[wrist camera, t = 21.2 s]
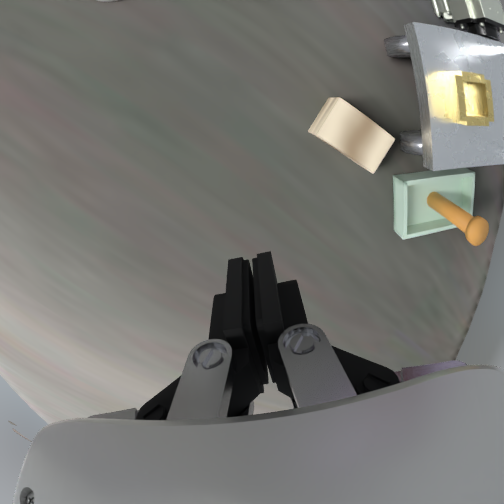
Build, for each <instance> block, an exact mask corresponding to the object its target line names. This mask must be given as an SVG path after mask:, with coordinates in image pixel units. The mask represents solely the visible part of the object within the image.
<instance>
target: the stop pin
mask: <svg viewBox="0 0 504 504" xmlns="http://www.w3.org/2000/svg"><path fill="white" fill-rule="evenodd" d="M427 204H428V206H429V207H431V208H432V209H434V210H435V211H436V212H438V213H439V214H441V215H442V216H443V217H445V218H446V219H447V220H449V221H450V222H451V223H452V224H454V225H455V226H456V227H458V228H459V229H460V230H461V231H463V232H464V233H465V236H466V239H467V240H468V241H469V242H470V243H471V244H472V245H474V246H478V245H480V244H481V243H482V242H483V241H484V240H485V239H486V237H487V235H488V231H489V224H488V222H487V221H486V220H485V219H483V218H482V217H481V216H475V217H474V216H472V215H471V214H469V213H468V212H466V211H465V210H463V209H462V208H460V207H459V206H457V205H456V204H454V203H453V202H451V201H450V200H448V199H447V198H445V197H443V196H442V195H440V194H439V193H437V192H431V193H430V194H429V195H428V197H427Z"/></svg>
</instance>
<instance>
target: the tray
mask: <svg viewBox="0 0 504 504" xmlns="http://www.w3.org/2000/svg"><path fill="white" fill-rule="evenodd" d="M474 189H475V172H474V171H472V170H469V169H467V168H457V169H448V170H439V171H431V170H430V171H422V172H414V173H406V174H399V175H393V194H394V231H395V232H396V233H397V234H398V235H399V236H400V237H401V238H402V239H403V240H404V239H408V238H413V237H417V236H421V235H426V234H430V233H435V232H439V231H443V230H448V229H452V228H456V226H455V225H454V224H452V223H451V222H450V221H449V220H447V219H446V218H445V217H443V216H442V215H441V214H439V213H438V212H436V211H435V210H434V209H432V208H431V207H429V206H428V204H427V197H428V195H429V194H430V193H431V192H437V193H439V194H440V195H442V196H443V197H445V198H447V199H448V200H450V201H451V202H453V203H454V204H456V205H457V206H459V207H460V208H462V209H463V210H465V211H466V212H468V213H469V214H471V215H472V213H473V203H474Z"/></svg>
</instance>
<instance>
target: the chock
mask: <svg viewBox="0 0 504 504" xmlns="http://www.w3.org/2000/svg"><path fill="white" fill-rule="evenodd" d="M308 132H310V133H311V134H313V135H314V136H316V137H318V138H319V139H321V140H322V141H324V142H325V143H327V144H329V145H330V146H332V147H333V148H335V149H336V150H338V151H339V152H341V153H342V154H344V155H345V156H347V157H348V158H350V159H351V160H352V161H354V162H355V163H357V164H358V165H360V166H361V167H363V168H364V169H366V170H368V171H369V172H371V173H373V174H374V172H375V171H376V169H377V167H378V166H379V164H380V163H381V161H382V160H383V158H384V156H385V155H386V153H387V152H388V150H389V149H390V147H391V145H392V144H393V142H394V140H395V138H393V137H392V136H391V135H390V134H389V133H387V132H386V131H385V130H384V129H382V128H381V127H380V126H378V125H377V124H376V123H375V122H373V121H372V120H371V119H369V118H368V117H367V116H365V115H364V114H363V113H361V112H360V111H359V110H357V109H356V108H354V107H353V106H352V105H350V104H349V103H347V102H346V101H345V100H343V99H342V98H340V97H337V98H328V100H327V101H326V103H325V104H324V106H323V108H322V109H321V111H320V113H319V114H318V116H317V117H316V119H315V121H314V122H313V124H312V125H311V127H310V129H309V130H308Z"/></svg>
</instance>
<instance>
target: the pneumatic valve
mask: <svg viewBox="0 0 504 504" xmlns="http://www.w3.org/2000/svg"><path fill="white" fill-rule="evenodd" d="M431 1H432V5H433V8H434V12H435V14H436V15H437V17H441V15H442V16H443V19H444V21H446V22H454V24H455V27H458V28H461V29H465V30H467V31H468V33H472V34H475V35H479V36H482V37H486V38H489V39H492V40H495V41H499V35H498V32H500V33H503V31H504V12H503V8H502V5H501V2H500V0H431Z"/></svg>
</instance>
